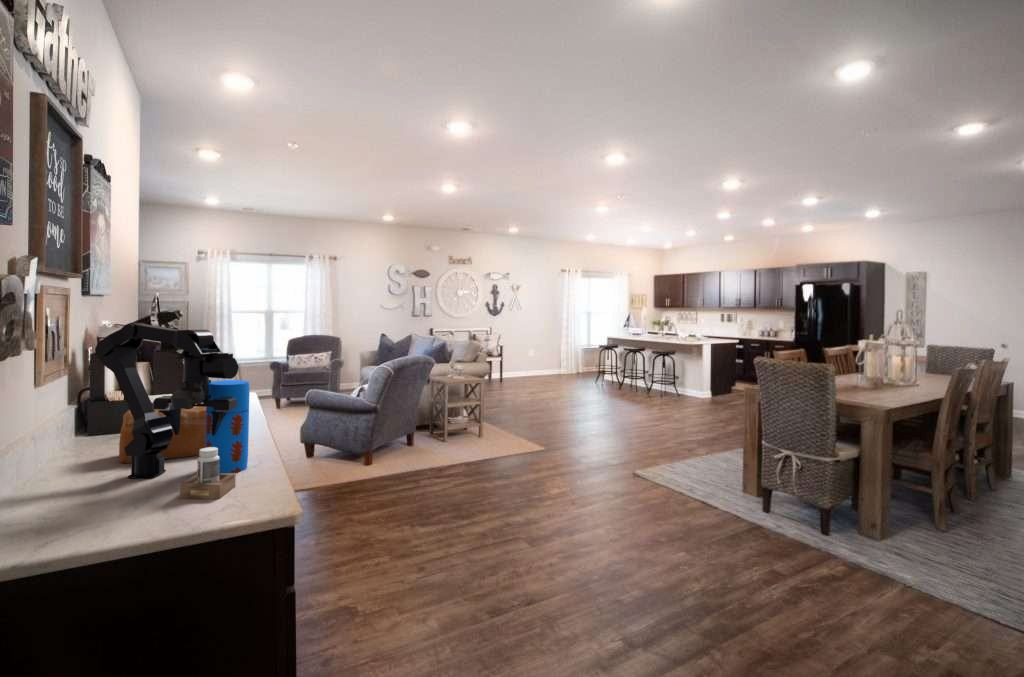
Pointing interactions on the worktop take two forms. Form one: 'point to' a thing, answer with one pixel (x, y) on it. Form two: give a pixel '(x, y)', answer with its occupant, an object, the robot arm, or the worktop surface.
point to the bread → (180, 445)
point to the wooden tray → (207, 487)
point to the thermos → (230, 426)
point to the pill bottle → (208, 465)
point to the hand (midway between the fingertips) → (195, 435)
